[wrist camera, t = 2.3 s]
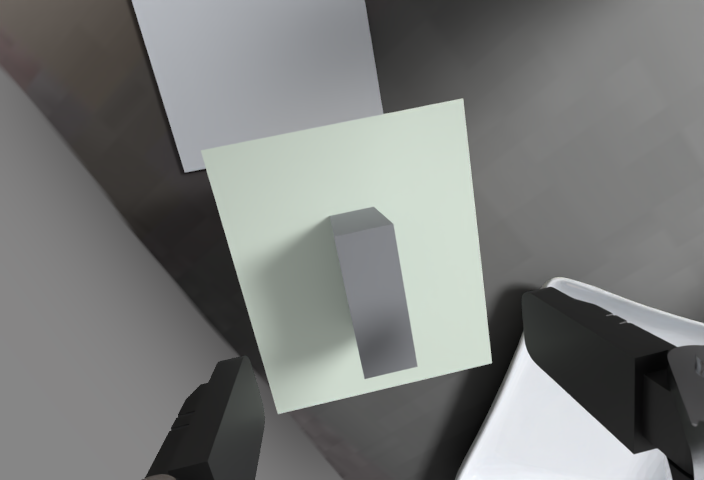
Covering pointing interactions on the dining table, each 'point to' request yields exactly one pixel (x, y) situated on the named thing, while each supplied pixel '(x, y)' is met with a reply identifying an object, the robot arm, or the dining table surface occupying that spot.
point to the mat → (257, 68)
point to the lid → (356, 252)
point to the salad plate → (565, 412)
